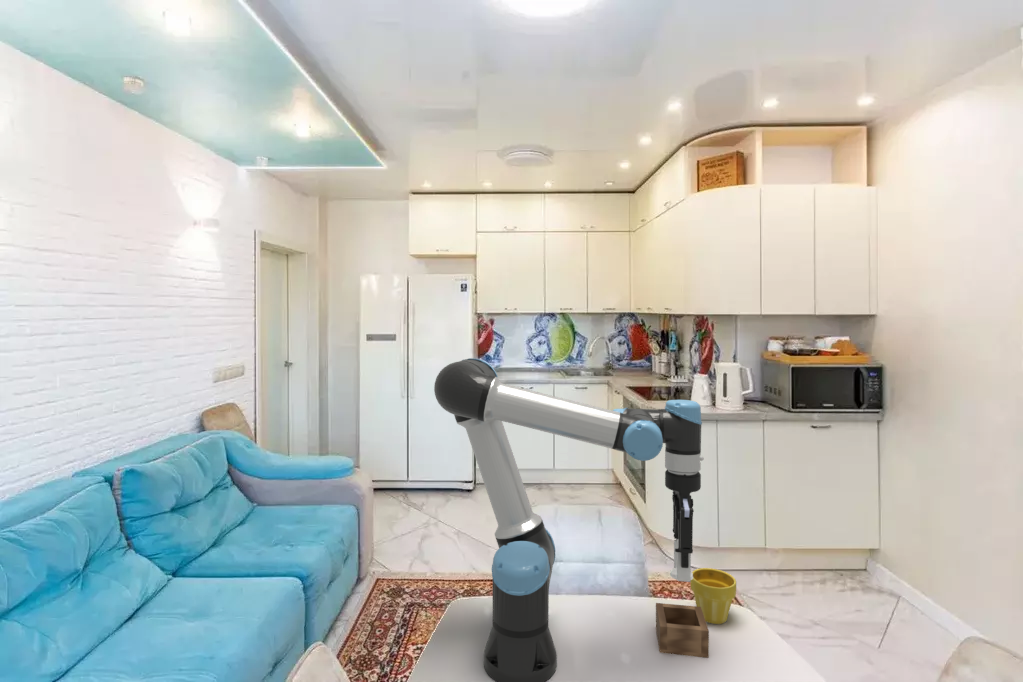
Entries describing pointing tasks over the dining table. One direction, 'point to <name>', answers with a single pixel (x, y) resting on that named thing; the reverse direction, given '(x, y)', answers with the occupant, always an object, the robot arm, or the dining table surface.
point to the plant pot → (713, 593)
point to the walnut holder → (682, 630)
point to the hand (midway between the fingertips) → (681, 574)
